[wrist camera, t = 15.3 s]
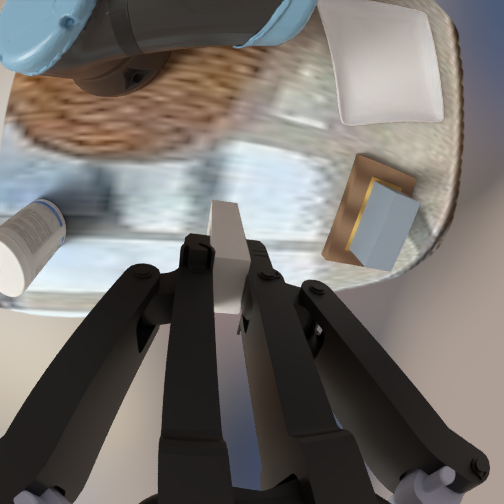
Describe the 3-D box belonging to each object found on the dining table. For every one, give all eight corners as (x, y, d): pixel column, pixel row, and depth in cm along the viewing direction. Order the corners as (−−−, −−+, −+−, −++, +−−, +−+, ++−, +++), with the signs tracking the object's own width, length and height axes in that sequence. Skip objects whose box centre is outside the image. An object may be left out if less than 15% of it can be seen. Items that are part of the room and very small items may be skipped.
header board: (356, 153, 39) (375, 160, 34) (410, 176, 42) (429, 185, 37) (321, 254, 47) (333, 271, 42) (374, 264, 50) (389, 280, 45)
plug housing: (373, 253, 46) (390, 271, 41) (348, 248, 45) (365, 267, 39) (399, 190, 41) (420, 202, 36) (374, 181, 40) (395, 192, 34)
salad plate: (333, 126, 37) (343, 127, 34) (307, 0, 27) (314, -7, 24) (433, 121, 38) (446, 123, 35) (415, 14, 28) (426, 11, 25)
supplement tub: (23, 198, 35) (-28, 235, 22) (64, 196, 36) (13, 235, 23) (32, 248, 39) (-9, 295, 26) (72, 250, 41) (33, 302, 28)
